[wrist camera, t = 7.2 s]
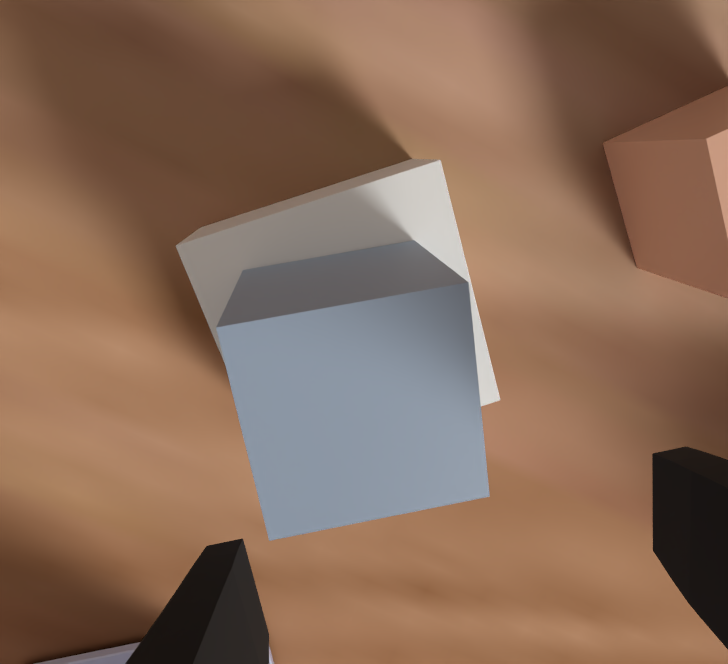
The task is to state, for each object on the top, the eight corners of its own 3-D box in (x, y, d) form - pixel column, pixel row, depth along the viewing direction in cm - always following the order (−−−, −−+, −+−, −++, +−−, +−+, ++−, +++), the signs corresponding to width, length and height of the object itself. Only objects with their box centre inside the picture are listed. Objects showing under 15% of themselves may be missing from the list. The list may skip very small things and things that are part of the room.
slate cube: (278, 425, 16) (269, 540, 11) (242, 269, 15) (216, 327, 10) (433, 395, 16) (489, 496, 12) (414, 240, 15) (468, 282, 10)
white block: (276, 415, 20) (271, 475, 16) (201, 226, 18) (175, 245, 14) (462, 354, 20) (500, 400, 17) (410, 158, 18) (440, 159, 14)
